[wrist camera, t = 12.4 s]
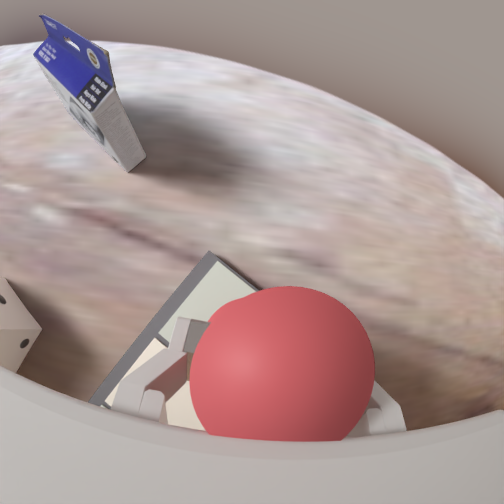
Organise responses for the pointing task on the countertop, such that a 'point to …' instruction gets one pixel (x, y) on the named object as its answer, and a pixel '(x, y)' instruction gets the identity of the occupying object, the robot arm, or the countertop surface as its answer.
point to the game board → (161, 328)
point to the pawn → (282, 368)
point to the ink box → (88, 91)
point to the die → (15, 328)
